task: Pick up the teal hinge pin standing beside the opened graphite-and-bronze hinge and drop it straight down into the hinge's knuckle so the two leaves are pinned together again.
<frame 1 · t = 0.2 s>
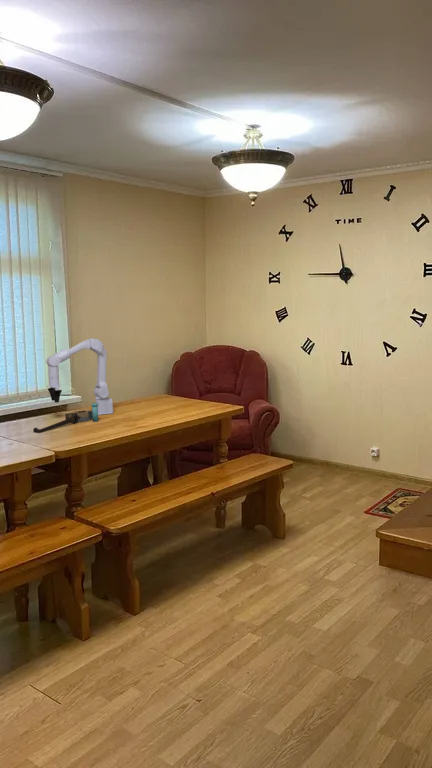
hand: (55, 401, 350), 10 cm above the table, tool pointing down, fingers open, 7 cm apart
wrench: (58, 427, 331), on the table, touching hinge
pin: (95, 421, 343), on the table
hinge: (81, 420, 345), on the table
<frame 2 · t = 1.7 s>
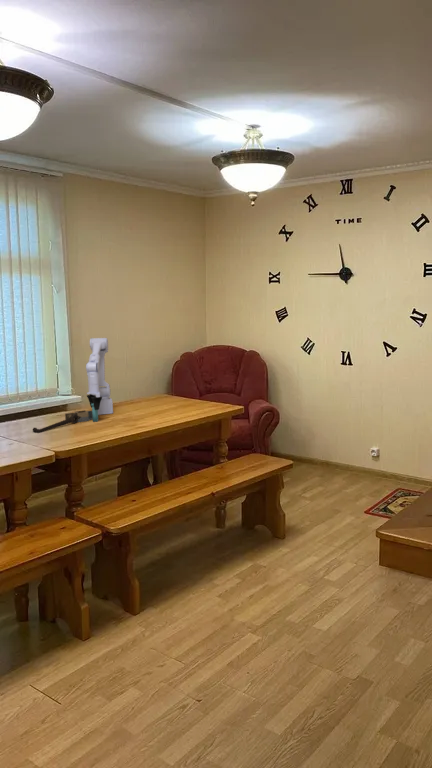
hand: (94, 408, 342), 7 cm above the table, tool pointing down, fingers open, 7 cm apart
nothing on the table moved.
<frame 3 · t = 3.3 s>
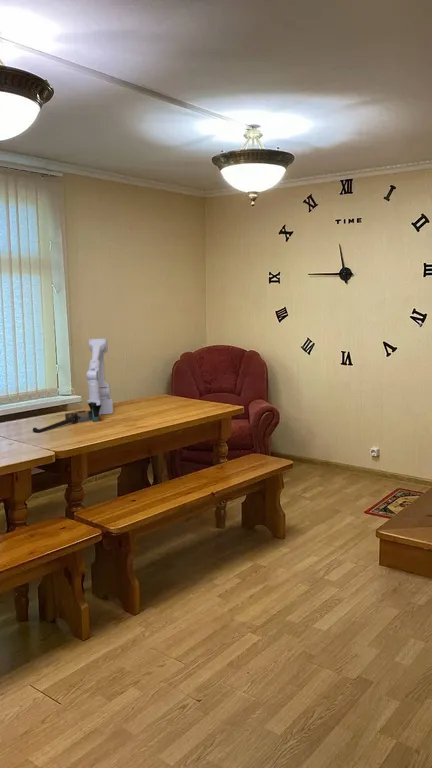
hand: (95, 416, 342), 3 cm above the table, tool pointing down, fingers closed on pin, 3 cm apart
pin: (95, 421, 343), on the table, touching gripper
everything else where it was.
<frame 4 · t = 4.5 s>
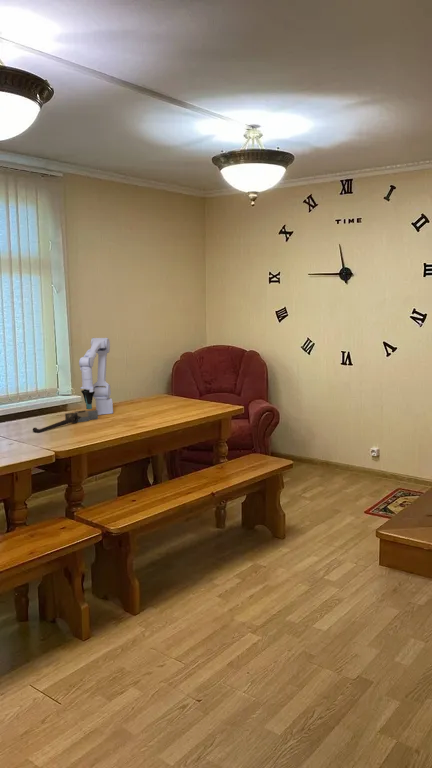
hand: (88, 403, 342), 10 cm above the table, tool pointing down, fingers closed on pin, 3 cm apart
pin: (89, 408, 343), point 7 cm above the table, touching gripper
everything else where it was.
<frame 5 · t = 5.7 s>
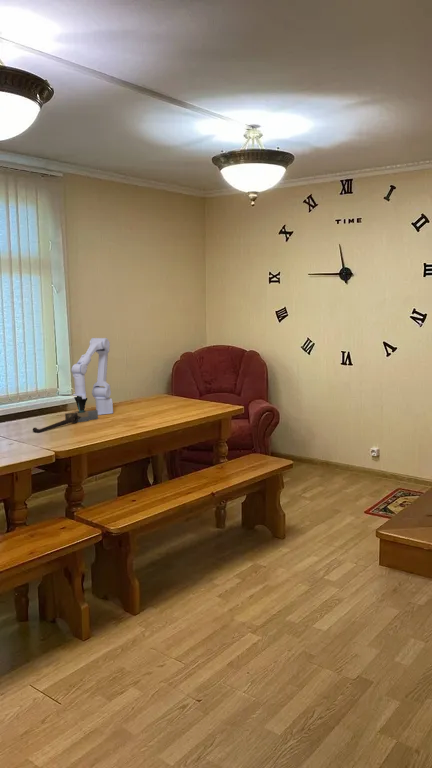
hand: (81, 410, 344), 6 cm above the table, tool pointing down, fingers closed on pin, 3 cm apart
pin: (81, 415, 345), point 3 cm above the table, touching gripper
everything else where it was.
when the fingers open (6 cm above the table, at t = 6.3 s): pin drops 3 cm, resting in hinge.
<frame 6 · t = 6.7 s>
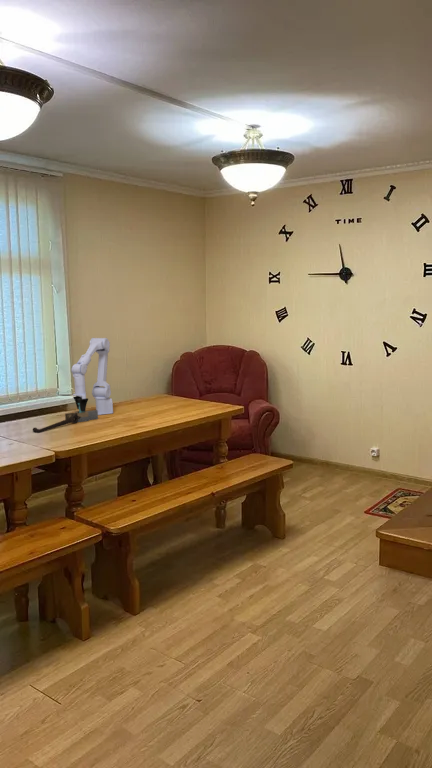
hand: (81, 410, 344), 6 cm above the table, tool pointing down, fingers open, 7 cm apart
pin: (82, 420, 345), resting in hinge
everything else where it was.
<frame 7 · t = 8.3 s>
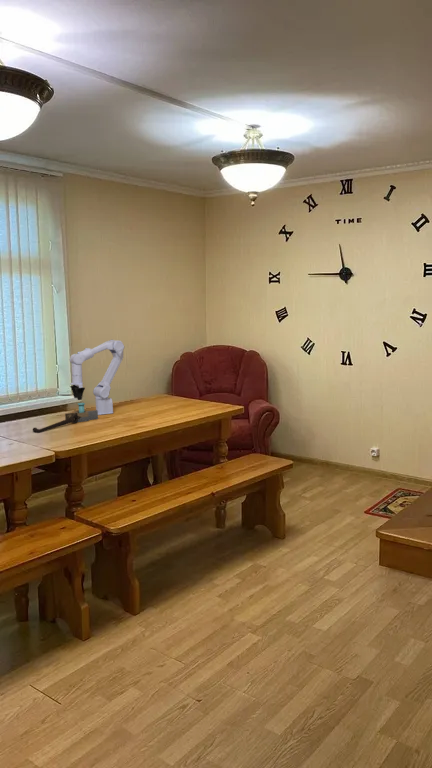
hand: (77, 398, 355), 10 cm above the table, tool pointing down, fingers open, 7 cm apart
nothing on the table moved.
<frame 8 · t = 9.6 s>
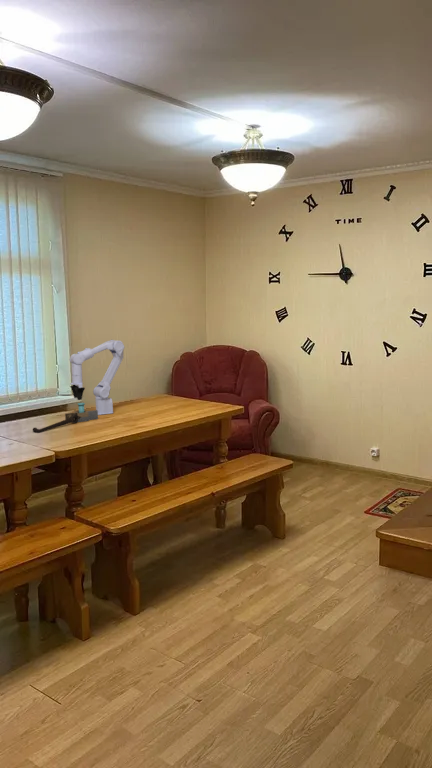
hand: (77, 398, 355), 10 cm above the table, tool pointing down, fingers open, 7 cm apart
nothing on the table moved.
at the end: pin 0.1 cm from the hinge (horizontally); pin resting in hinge; pin tilted 0° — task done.
